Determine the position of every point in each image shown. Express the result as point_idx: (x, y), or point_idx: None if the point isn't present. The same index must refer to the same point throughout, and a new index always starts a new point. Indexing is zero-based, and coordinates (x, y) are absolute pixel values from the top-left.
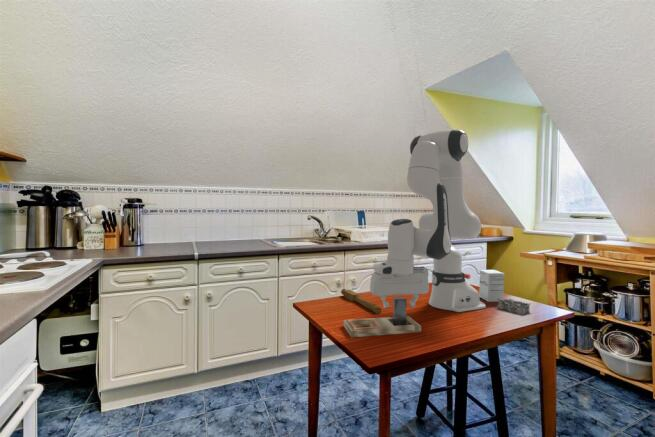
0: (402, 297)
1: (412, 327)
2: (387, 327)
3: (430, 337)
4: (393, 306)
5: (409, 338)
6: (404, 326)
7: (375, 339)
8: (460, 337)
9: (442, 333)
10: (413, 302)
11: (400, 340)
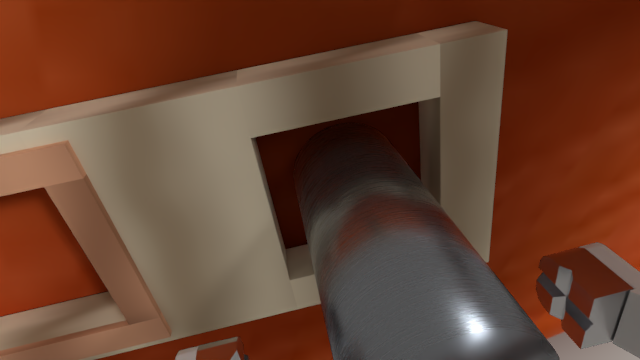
0: (538, 343)
1: None
2: (229, 311)
3: None
4: (325, 321)
5: None
6: None
7: (145, 356)
8: None
9: (579, 241)
10: (607, 337)
11: (297, 346)
